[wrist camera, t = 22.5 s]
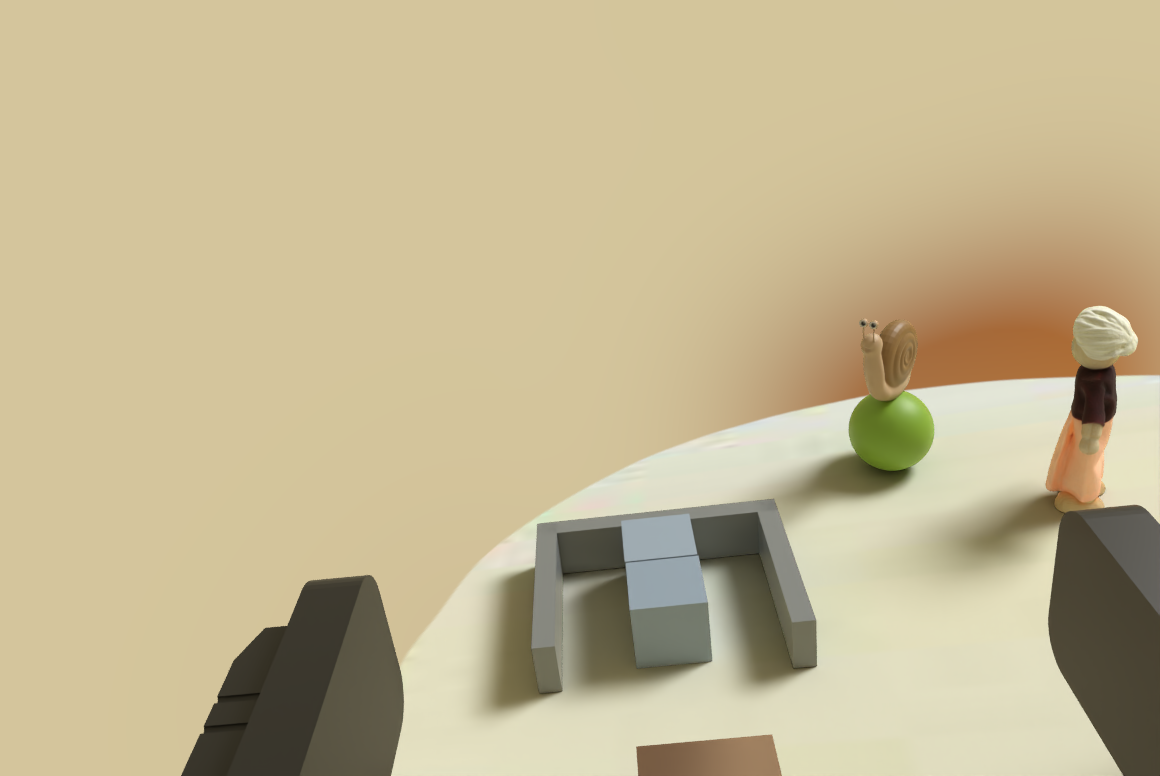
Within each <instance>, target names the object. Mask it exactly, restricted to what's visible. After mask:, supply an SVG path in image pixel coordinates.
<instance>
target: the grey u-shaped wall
mask: <svg viewBox="0 0 1160 776" xmlns="http://www.w3.org/2000/svg"><path fill="white" fill-rule="evenodd" d="M681 514H689V515H690V520H691V525H692V530H693V535H694V540H695V545H696V550H697V556H699V559H709V558H718V557H728V556H738V555H747V554H757V553H759V554H760V557H761V560H762V564H763V567H764V571H765V574H766V577H767V581H768V584H769V587H770V591H771V594H772V598H773V601H774V604H775V608H776V611H777V614H778V618H779V621H780V625H781V628H782V631H783V635H784V638H785V641H786V645H787V648H788V652H789V655H790V658H791V662H792V665H793V668H801V667H812V666H817V643H816V618H815V615H814V612H813V610H812V607H811V604H810V601H809V598H808V595H807V592H806V589H805V587H804V584H803V581H802V578H801V575H800V572H799V569H798V567H797V564H796V561H795V558H794V555H793V552H792V549H791V546H790V544H789V541H788V538H787V535H786V532H785V529H784V526H783V523H782V521H781V518H780V515H779V512H778V509H777V506H776V503H775V500H774V499H767V500H758V501H748V502H739V503H730V504H720V505H711V506H701V507H692V508H682V509H673V510H663V511H654V512H644V513H635V514H625V515H616V516H606V517H597V518H587V519H578V520H568V521H559V522H549V523H540V524H537V541H536V561H535V582H534V602H533V623H532V643H531V650H532V656H533V661H534V667H535V672H536V678H537V683H538V689H539V693H547V692H557V691H562V640H563V573H573V572H583V571H592V570H602V569H612V568H622V567H625V560H624V549H623V537H622V526H621V521H624V520H633V519H643V518H652V517H662V516H671V515H681Z"/></svg>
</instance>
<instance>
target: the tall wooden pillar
mask: <svg viewBox="0 0 1160 776" xmlns="http://www.w3.org/2000/svg"><path fill="white" fill-rule="evenodd" d="M636 748H637V762H638V776H782V775H781V771H780V766H779V762H778V758H777V754H776V749H775V745H774V741H773V737H772V735H762V736H751V737H740V738H729V739H717V740H706V741H695V742H684V743H672V744H661V745H650V746H639V747H636Z"/></svg>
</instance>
